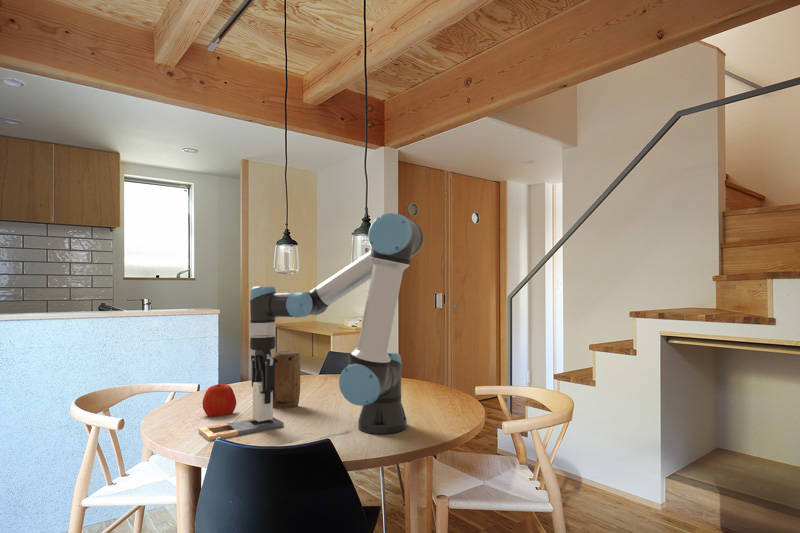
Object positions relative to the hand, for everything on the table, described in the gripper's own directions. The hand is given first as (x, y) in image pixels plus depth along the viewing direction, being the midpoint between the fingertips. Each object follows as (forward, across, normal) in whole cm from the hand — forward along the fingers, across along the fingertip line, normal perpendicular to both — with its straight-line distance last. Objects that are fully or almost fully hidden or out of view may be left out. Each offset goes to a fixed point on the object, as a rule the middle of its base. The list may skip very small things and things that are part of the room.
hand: (262, 412), depth 144 cm
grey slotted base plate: (+5, 0, +6) cm, 8 cm away
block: (+5, +20, -16) cm, 27 cm away
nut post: (+2, 0, 0) cm, 2 cm away
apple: (+5, +24, +5) cm, 26 cm away
